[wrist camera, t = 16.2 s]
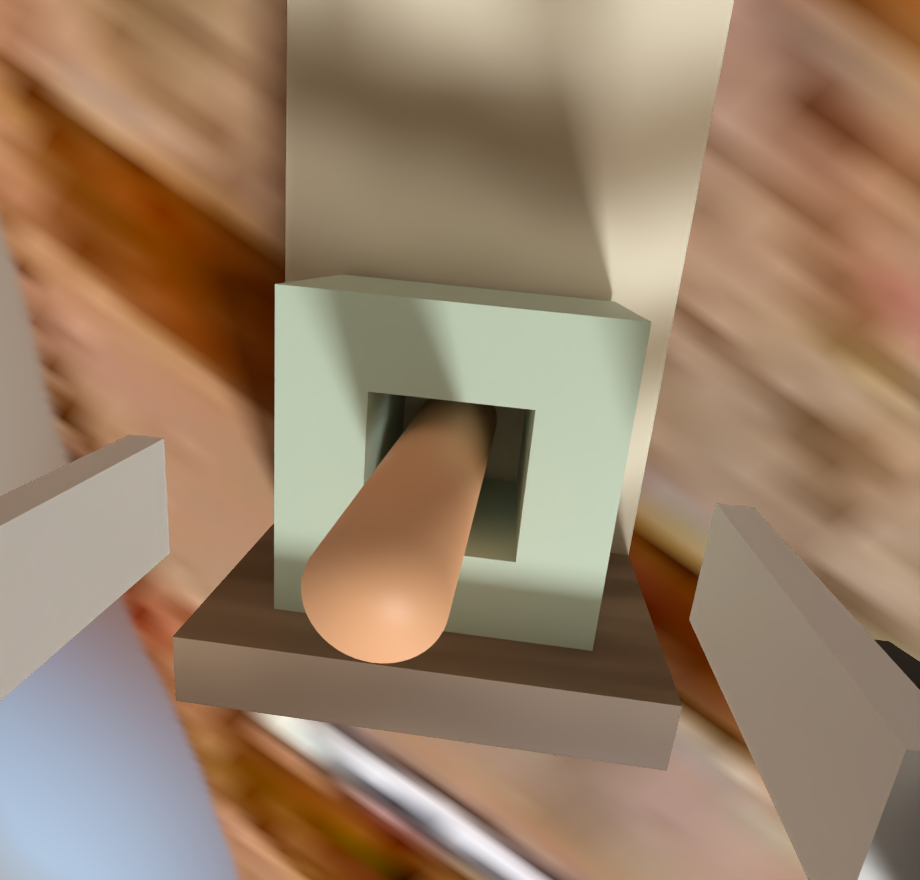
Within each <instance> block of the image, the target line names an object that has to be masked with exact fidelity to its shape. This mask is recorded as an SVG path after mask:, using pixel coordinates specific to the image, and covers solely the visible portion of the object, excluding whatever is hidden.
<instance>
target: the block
mask: <svg viewBox="0 0 920 880" xmlns="http://www.w3.org/2000/svg"><path fill="white" fill-rule="evenodd" d="M651 323H652V322H651V321H649V320H647V319H645V318H643V317H642V316H640V315H638V314H636V313H634V312H633V311H631V310H629V309H627V308H625V307H624V306H622V305H620V304H618V303H616V302H615V301H605V300H595V299H585V298H575V297H564V296H554V295H544V294H534V293H524V292H514V291H504V290H494V289H484V288H474V287H464V286H454V285H444V284H434V283H424V282H414V281H404V280H394V279H384V278H373V277H363V276H353V275H343V274H341V275H334V276H327V277H320V278H313V279H306V280H299V281H292V282H285V283H278V284H275V418H274V609H280V610H287V611H295V612H302V613H306V611H305V609H304V606H303V601H302V595H301V580H302V576H303V571H304V569H305V566H306V564H307V562H308V560H309V558H310V556H311V555H312V554H313V552H314V551H315V550H316V548H317V547H318V546H319V544H320V543H321V542H322V540H323V539H324V538H325V536H326V535H327V534H328V532H329V531H330V530H331V528H332V527H333V526H334V524H335V523H336V522H337V520H338V519H339V518H340V516H341V515H342V514H343V512H344V511H345V510H346V508H347V507H348V506H349V504H350V503H351V502H352V500H353V499H354V498H355V496H356V495H357V494H358V492H359V491H360V490H361V488H362V487H363V486H364V484H365V483H366V482H367V480H368V479H369V478H370V476H371V475H372V474H373V472H374V471H375V469H376V468H377V467H378V465H379V464H380V463H381V461H382V460H383V459H384V457H385V456H386V455H387V453H388V452H389V451H390V449H391V448H392V447H393V445H394V444H395V443H396V441H397V440H398V439H399V437H400V436H401V435H402V433H403V426H404V411H405V396H412V397H421V398H430V399H439V400H448V401H457V402H466V403H475V404H485V405H494V406H503V407H512V408H521V409H526V412H525V420H524V428H523V436H522V444H521V452H520V460H519V467H518V475H517V482H509V481H500V480H491V479H483V482H482V486H481V490H480V494H479V498H478V502H477V506H476V510H475V514H474V518H473V522H472V526H471V530H470V534H469V538H468V542H467V546H466V550H465V553H464V557H463V561H462V565H461V569H460V573H459V577H458V581H457V585H456V589H455V593H454V597H453V601H452V605H451V609H450V613H449V617H448V621H447V624H446V626H445V628H444V630H443V631H446V632H453V633H461V634H468V635H476V636H483V637H491V638H498V639H506V640H514V641H521V642H529V643H536V644H544V645H551V646H559V647H566V648H574V649H582V650H589V651H592V650H593V645H594V639H595V634H596V628H597V623H598V617H599V612H600V606H601V600H602V595H603V589H604V584H605V578H606V573H607V567H608V562H609V556H610V551H611V545H612V540H613V534H614V528H615V523H616V517H617V512H618V506H619V501H620V495H621V490H622V484H623V479H624V473H625V467H626V462H627V456H628V451H629V445H630V440H631V434H632V429H633V423H634V418H635V412H636V406H637V401H638V395H639V390H640V384H641V379H642V373H643V368H644V362H645V357H646V351H647V345H648V340H649V334H650V329H651Z"/></svg>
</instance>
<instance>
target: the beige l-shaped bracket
mask: <svg viewBox="0 0 920 880" xmlns="http://www.w3.org/2000/svg"><path fill="white" fill-rule="evenodd" d="M733 3H734V0H287V103H286V234H285V282H292V281H299V280H306V279H313V278H320V277H327V276H334V275H341V274H343V275H353V276H363V277H373V278H384V279H394V280H404V281H414V282H424V283H434V284H444V285H454V286H464V287H474V288H484V289H494V290H504V291H514V292H524V293H534V294H544V295H554V296H564V297H575V298H585V299H595V300H605V301H615V302H616V303H618V304H620V305H622V306H624V307H625V308H627V309H629V310H631V311H633V312H634V313H636V314H638V315H640V316H642V317H643V318H645V319H647V320H649V321H651V322H652V323H651V329H650V334H649V340H648V345H647V351H646V357H645V362H644V368H643V373H642V379H641V384H640V390H639V395H638V401H637V406H636V412H635V418H634V423H633V429H632V434H631V440H630V445H629V451H628V456H627V462H626V467H625V473H624V479H623V484H622V490H621V495H620V501H619V506H618V512H617V517H616V523H615V528H614V534H613V540H612V545H611V551H610V556H609V562H608V567H607V573H606V578H605V584H604V589H603V595H602V600H601V606H600V612H599V617H598V623H597V628H596V634H595V639H594V645H593V650H592V651H589V650H582V649H574V648H566V647H559V646H551V645H544V644H536V643H529V642H521V641H514V640H506V639H498V638H491V637H483V636H476V635H468V634H461V633H453V632H446V631H443V632H442V634H441V635H440V637H439V638H438V640H437V641H436V642H435V643H434V644H433V645H432V646H431V647H430V648H428V649H427V650H426V651H425V652H423V653H421V654H420V655H418V656H416V657H413V658H411V659H408V660H405V661H401V662H396V663H372V662H367V661H362V660H359V659H356V658H353V657H351V656H348V655H346V654H344V653H342V652H341V651H339V650H337V649H336V648H334V647H333V646H332V645H330V644H329V643H328V642H327V641H326V640H325V639H323V638H322V636H321V635H320V634H319V633H318V632H317V631H316V629H315V628H314V626H313V625H312V624H311V622H310V620H309V618H308V616H307V614H306V613H302V612H295V611H287V610H280V609H274V524H273V525H272V526H271V527H270V528H269V529H268V531H267V532H266V533H265V534H264V535H263V536H262V537H261V538H260V540H259V541H258V542H257V543H256V544H255V545H254V546H253V547H252V549H251V550H250V551H249V552H248V553H247V554H246V555H245V556H244V557H243V559H242V560H241V561H240V562H239V563H238V564H237V565H236V566H235V568H234V569H233V570H232V571H231V572H230V573H229V574H228V575H227V577H226V578H225V579H224V580H223V581H222V582H221V583H220V584H219V585H218V587H217V588H216V589H215V590H214V591H213V592H212V593H211V594H210V596H209V597H208V598H207V599H206V600H205V601H204V602H203V603H202V604H201V606H200V607H199V608H198V609H197V610H196V611H195V612H194V613H193V615H192V616H191V617H190V618H189V619H188V620H187V621H186V622H185V624H184V625H183V626H182V627H181V628H180V629H179V630H178V631H177V632H176V634H175V635H174V636H173V653H174V672H175V691H176V701H181V702H188V703H195V704H202V705H209V706H216V707H223V708H230V709H237V710H244V711H251V712H258V713H265V714H272V715H279V716H286V717H293V718H300V719H307V720H314V721H321V722H328V723H335V724H342V725H349V726H356V727H363V728H370V729H377V730H384V731H391V732H398V733H405V734H412V735H419V736H426V737H433V738H440V739H447V740H454V741H461V742H468V743H475V744H482V745H489V746H496V747H503V748H510V749H517V750H524V751H531V752H538V753H546V754H553V755H560V756H567V757H574V758H581V759H588V760H595V761H602V762H609V763H616V764H623V765H630V766H637V767H644V768H651V769H658V770H665V771H667V768H668V764H669V759H670V755H671V751H672V747H673V742H674V738H675V734H676V730H677V726H678V721H679V717H680V713H681V709H682V705H681V702H680V699H679V696H678V693H677V691H676V688H675V685H674V682H673V679H672V677H671V674H670V671H669V668H668V665H667V663H666V660H665V657H664V654H663V651H662V648H661V646H660V643H659V640H658V637H657V634H656V632H655V629H654V626H653V623H652V620H651V618H650V615H649V612H648V609H647V606H646V604H645V601H644V598H643V595H642V592H641V589H640V587H639V584H638V581H637V578H636V575H635V573H634V570H633V567H632V564H631V561H630V559H629V556H628V554H629V549H630V544H631V539H632V533H633V528H634V523H635V518H636V512H637V507H638V502H639V497H640V491H641V486H642V481H643V476H644V470H645V465H646V460H647V455H648V449H649V444H650V439H651V434H652V428H653V423H654V418H655V413H656V407H657V402H658V397H659V392H660V386H661V381H662V376H663V371H664V365H665V360H666V355H667V350H668V344H669V339H670V334H671V328H672V323H673V318H674V313H675V307H676V302H677V297H678V292H679V286H680V281H681V276H682V271H683V265H684V260H685V255H686V250H687V244H688V239H689V234H690V229H691V223H692V218H693V213H694V208H695V202H696V197H697V192H698V187H699V181H700V176H701V171H702V166H703V160H704V155H705V150H706V145H707V139H708V134H709V129H710V124H711V118H712V113H713V108H714V103H715V97H716V92H717V87H718V81H719V76H720V71H721V66H722V60H723V55H724V50H725V45H726V39H727V34H728V29H729V24H730V18H731V13H732V8H733ZM428 399H429V398H421V397H412V396H405V411H404V426H403V432H404V431H405V429H406V428H407V427H408V425H409V424H410V423H411V421H412V420H413V419H414V417H415V416H416V415H417V413H418V412H419V411H420V409H421V408H422V407H423V405H424V404H425V403H426V401H427V400H428ZM495 408H496V411H497V426H496V430H495V434H494V438H493V442H492V446H491V450H490V454H489V458H488V462H487V466H486V470H485V474H484V478H483V479H491V480H500V481H509V482H517V475H518V467H519V460H520V452H521V444H522V436H523V428H524V420H525V412H526V409H521V408H512V407H503V406H495Z"/></svg>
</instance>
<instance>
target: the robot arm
mask: <svg viewBox="0 0 920 880" xmlns="http://www.w3.org/2000/svg"><path fill="white" fill-rule="evenodd" d="M168 554H170V544H169V525H168V506H167V486H166V467H165V448H164V438H155V437H147V436H138V435H128V436H126V437H124V438H122V439H119V440H117V441H115V442H113V443H111V444H109V445H107V446H105V447H103V448H101V449H98V450H96V451H94V452H92V453H90V454H88V455H86V456H84V457H82V458H80V459H78V460H75V461H73V462H71V463H69V464H67V465H65V466H63V467H61V468H59V469H57V470H55V471H52V472H50V473H48V474H46V475H44V476H42V477H40V478H38V479H36V480H33V481H31V482H29V483H28V484H25V485H23V486H21V487H19V488H17V489H15V490H13V491H10V492H8V493H7V494H4V495H2V496H0V701H1V700H2V699H3V698H4V697H5V696H6V695H8V694H9V693H10V692H11V691H12V690H13V689H14V688H16V687H17V686H18V685H19V684H20V683H21V682H23V681H24V680H25V679H26V678H27V677H28V676H29V675H30V674H32V673H33V672H34V671H35V670H36V669H37V668H39V667H40V666H41V665H42V664H43V663H44V662H45V661H47V660H48V659H49V658H50V657H51V656H52V655H54V653H56V652H57V651H58V650H59V649H60V648H61V647H63V646H64V645H65V644H66V643H67V642H68V641H70V640H71V639H72V638H73V637H74V636H75V635H77V634H78V633H79V632H80V631H81V630H82V629H83V628H85V627H86V626H87V625H88V624H89V623H90V622H91V621H92V620H94V619H95V618H96V617H97V616H98V615H99V614H101V613H102V612H103V611H104V610H105V609H106V608H107V607H109V606H110V605H111V604H112V603H113V602H114V601H116V600H117V599H118V598H119V597H120V596H121V595H122V594H124V593H125V592H126V591H127V590H128V589H129V588H130V587H132V586H133V585H134V584H135V583H136V582H137V581H139V580H140V579H141V578H142V577H143V576H144V575H145V574H147V573H148V572H149V571H150V570H151V569H152V568H153V567H155V566H156V565H157V564H158V563H159V562H160V561H161V560H163V559H164V558H165V557H166V556H167V555H168ZM689 620H690V622H691V625H692V627H693V629H694V631H695V633H696V635H697V638H698V640H699V642H700V644H701V646H702V649H703V651H704V653H705V655H706V657H707V659H708V662H709V664H710V666H711V668H712V670H713V673H714V675H715V677H716V679H717V681H718V683H719V686H720V688H721V690H722V692H723V694H724V697H725V699H726V701H727V703H728V705H729V707H730V710H731V712H732V714H733V716H734V718H735V721H736V723H737V725H738V727H739V729H740V731H741V734H742V736H743V738H744V740H745V742H746V745H747V747H748V749H749V751H750V753H751V755H752V758H753V760H754V762H755V764H756V766H757V769H758V771H759V773H760V775H761V777H762V779H763V782H764V784H765V786H766V788H767V790H768V793H769V795H770V797H771V799H772V801H773V803H774V806H775V808H776V810H777V812H778V814H779V817H780V819H781V821H782V823H783V825H784V827H785V830H786V832H787V834H788V836H789V838H790V841H791V843H792V845H793V847H794V849H795V851H796V854H797V856H798V858H799V860H800V862H801V865H802V867H803V869H804V871H805V873H806V875H807V878H808V880H920V662H919V661H918V660H916V659H915V658H913V657H912V656H910V655H909V654H907V653H906V652H904V651H903V650H901V649H900V648H898V647H897V646H895V645H894V644H892V643H891V642H889V641H881V640H874V639H873V638H872V637H871V636H870V635H869V634H868V632H867V631H866V630H865V629H864V628H863V627H862V626H861V625H860V624H859V623H858V621H857V620H856V619H855V618H854V617H853V616H852V615H851V614H850V613H849V612H848V610H847V609H846V608H845V607H844V606H843V605H842V604H841V603H840V602H839V601H838V599H837V598H836V597H835V596H834V595H833V594H832V593H831V592H830V591H829V589H828V588H827V587H826V586H825V585H824V584H823V583H822V582H821V581H820V580H819V578H818V577H817V576H816V575H815V574H814V573H813V572H812V571H811V570H810V569H809V567H808V566H807V565H806V564H805V563H804V562H803V561H802V560H801V559H800V558H799V556H798V555H797V554H796V553H795V552H794V551H793V550H792V549H791V548H790V547H789V545H788V544H787V543H786V542H785V541H784V540H783V539H782V538H781V537H780V536H779V534H778V533H777V532H776V531H775V530H774V529H773V528H772V527H771V526H770V524H769V523H768V522H767V521H766V520H765V519H764V518H763V517H762V516H761V515H760V513H759V512H758V511H757V510H756V509H755V508H752V507H744V506H735V505H727V504H718V503H716V506H715V510H714V515H713V519H712V523H711V528H710V532H709V536H708V541H707V545H706V549H705V554H704V558H703V562H702V567H701V571H700V575H699V580H698V584H697V588H696V593H695V597H694V601H693V606H692V610H691V615H690V619H689Z"/></svg>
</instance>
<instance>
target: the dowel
mask: <svg viewBox="0 0 920 880" xmlns="http://www.w3.org/2000/svg"><path fill="white" fill-rule="evenodd" d="M496 426H497V411H496V408H495V406H494V405H485V404H475V403H466V402H457V401H448V400H439V399H430V398H429V399H428V400H427V401H426V403H425V404H424V405H423V407H422V408H421V409H420V411H419V412H418V413H417V415H416V416H415V417H414V419H413V420H412V421H411V423H410V424H409V425H408V427H407V428H406V429H405V431H404V432H403V433H402V435H401V436H400V437H399V439H398V440H397V441H396V443H395V444H394V445H393V447H392V448H391V449H390V451H389V452H388V453H387V455H386V456H385V457H384V459H383V460H382V461H381V463H380V464H379V465H378V467H377V468H376V469H375V471H374V472H373V474H372V475H371V476H370V478H369V479H368V480H367V482H366V483H365V484H364V486H363V487H362V488H361V490H360V491H359V492H358V494H357V495H356V496H355V498H354V499H353V500H352V502H351V503H350V504H349V506H348V507H347V508H346V510H345V511H344V512H343V514H342V515H341V516H340V518H339V519H338V520H337V522H336V523H335V524H334V526H333V527H332V528H331V530H330V531H329V532H328V534H327V535H326V536H325V538H324V539H323V540H322V542H321V543H320V544H319V546H318V547H317V548H316V550H315V551H314V552H313V554H312V555H311V556H310V558H309V560H308V562H307V564H306V566H305V569H304V571H303V576H302V580H301V595H302V601H303V606H304V609H305V611H306V614H307V616H308V618H309V620H310V622H311V624H312V625H313V626H314V628H315V629H316V631H317V632H318V633H319V634H320V635H321V636H322V638H323V639H325V640H326V641H327V642H328V643H329V644H330V645H332V646H333V647H334V648H336V649H337V650H339V651H341V652H342V653H344V654H346V655H348V656H351V657H353V658H356V659H359V660H362V661H367V662H372V663H396V662H401V661H405V660H408V659H411V658H413V657H416V656H418V655H420V654H421V653H423V652H425V651H426V650H427V649H428V648H430V647H431V646H432V645H433V644H434V643H435V642H436V641H437V640H438V638H439V637H440V635H441V634H442V632H443V630H444V628H445V626H446V624H447V621H448V617H449V613H450V609H451V605H452V601H453V597H454V593H455V589H456V585H457V581H458V577H459V573H460V569H461V565H462V561H463V557H464V553H465V550H466V546H467V542H468V538H469V534H470V530H471V526H472V522H473V518H474V514H475V510H476V506H477V502H478V498H479V494H480V490H481V486H482V482H483V478H484V474H485V470H486V466H487V462H488V458H489V454H490V450H491V446H492V442H493V438H494V434H495V430H496Z"/></svg>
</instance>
